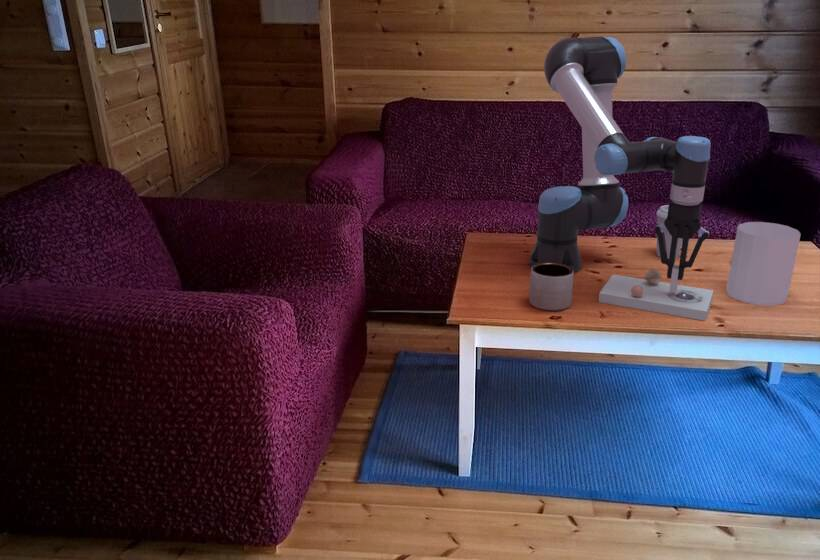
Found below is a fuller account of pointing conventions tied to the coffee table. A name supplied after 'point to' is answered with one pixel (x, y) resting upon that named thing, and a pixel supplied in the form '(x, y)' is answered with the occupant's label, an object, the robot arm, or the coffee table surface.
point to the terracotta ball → (637, 291)
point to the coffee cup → (666, 232)
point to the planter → (551, 286)
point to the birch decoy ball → (653, 276)
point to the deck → (657, 297)
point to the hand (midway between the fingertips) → (673, 290)
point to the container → (762, 263)
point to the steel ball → (683, 296)
